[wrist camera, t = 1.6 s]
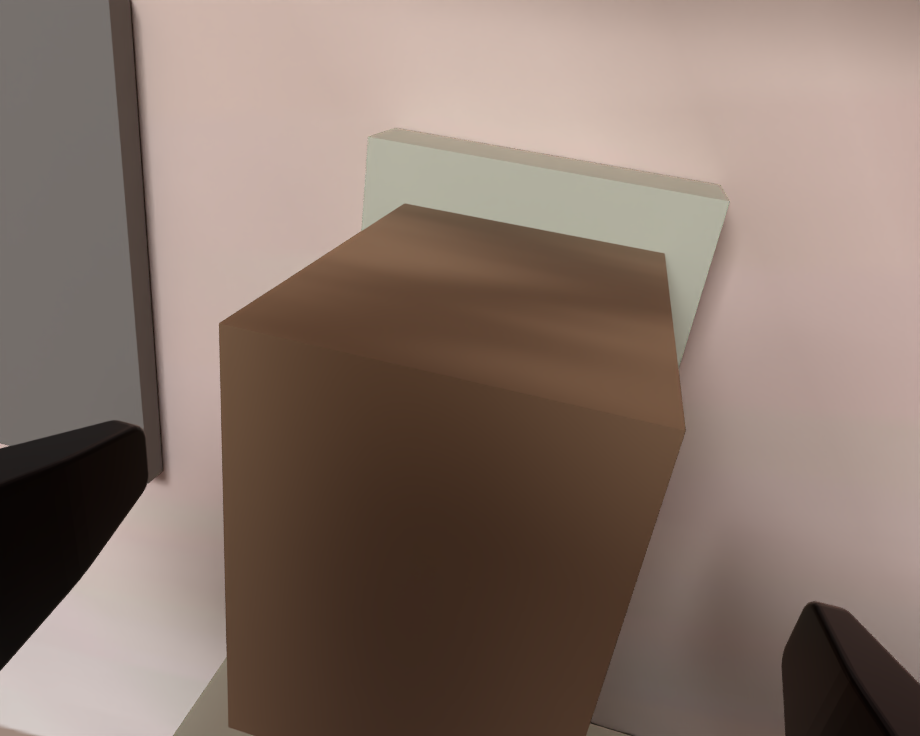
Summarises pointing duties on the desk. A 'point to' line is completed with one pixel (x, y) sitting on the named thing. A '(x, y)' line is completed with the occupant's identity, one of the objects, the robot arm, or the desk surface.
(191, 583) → the desk surface
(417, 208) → the walnut block
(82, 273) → the rubber mat
